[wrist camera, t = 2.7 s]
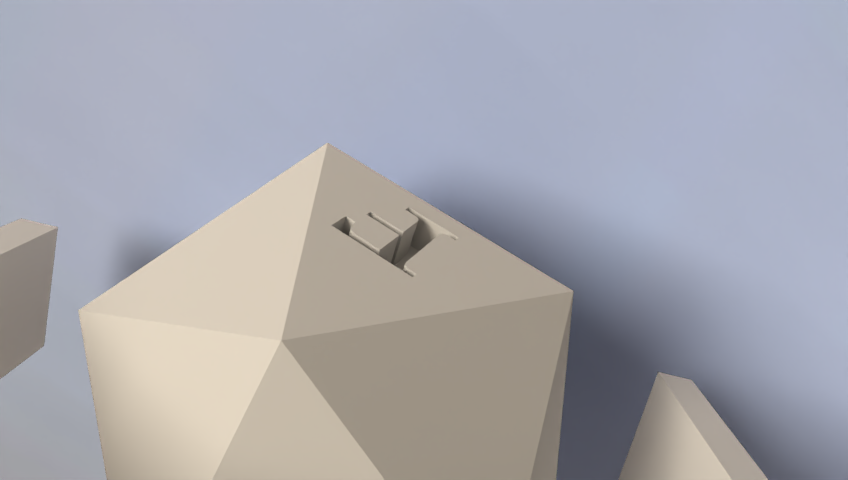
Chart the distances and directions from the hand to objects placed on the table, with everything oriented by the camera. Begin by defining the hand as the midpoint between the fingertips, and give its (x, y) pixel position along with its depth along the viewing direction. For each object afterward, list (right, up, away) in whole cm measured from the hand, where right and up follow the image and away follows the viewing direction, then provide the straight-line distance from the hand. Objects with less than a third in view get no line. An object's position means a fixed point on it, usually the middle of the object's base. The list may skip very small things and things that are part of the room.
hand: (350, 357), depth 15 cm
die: (0, +1, +2) cm, 2 cm away
